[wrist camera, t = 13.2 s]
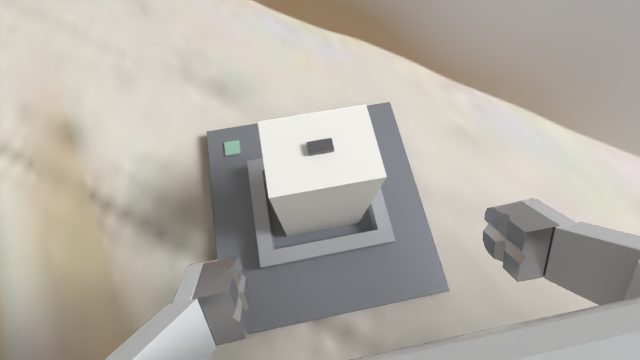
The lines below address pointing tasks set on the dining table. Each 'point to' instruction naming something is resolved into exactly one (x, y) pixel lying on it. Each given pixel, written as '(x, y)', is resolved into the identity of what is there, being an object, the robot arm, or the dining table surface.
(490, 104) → the dining table surface
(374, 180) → the charger brick
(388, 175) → the socket plate
